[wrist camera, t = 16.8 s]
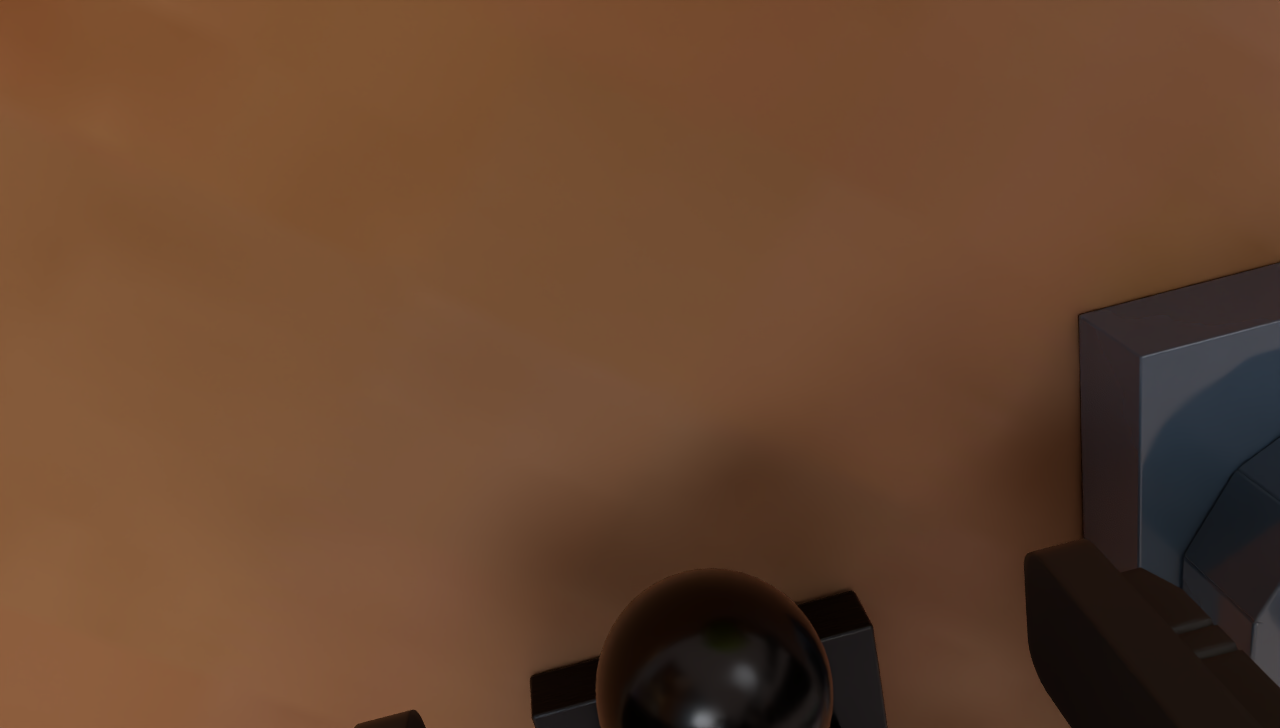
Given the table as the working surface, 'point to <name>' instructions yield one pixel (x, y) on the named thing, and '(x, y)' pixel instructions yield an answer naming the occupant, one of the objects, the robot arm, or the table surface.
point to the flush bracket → (841, 626)
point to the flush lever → (713, 658)
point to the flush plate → (1190, 447)
